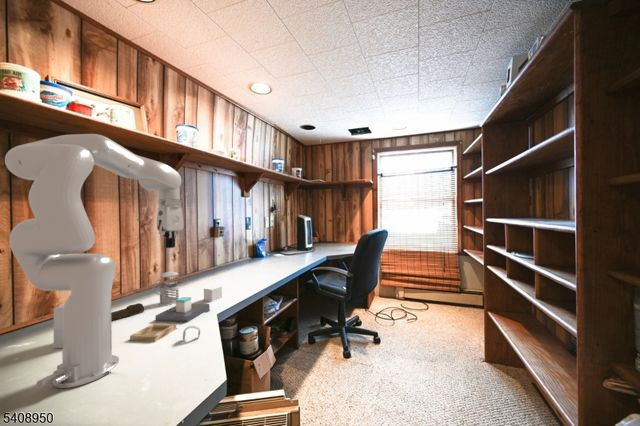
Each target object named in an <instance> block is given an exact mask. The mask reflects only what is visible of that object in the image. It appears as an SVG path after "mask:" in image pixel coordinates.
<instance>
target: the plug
mask: <svg viewBox="0 0 640 426" xmlns="http://www.w3.org/2000/svg"><path fill="white" fill-rule="evenodd" d="M191 303H192V297H190V296H183V297H180V298H179V299H177V300H176V304H175V306H176V312H187V311H189V310H191Z"/></svg>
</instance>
